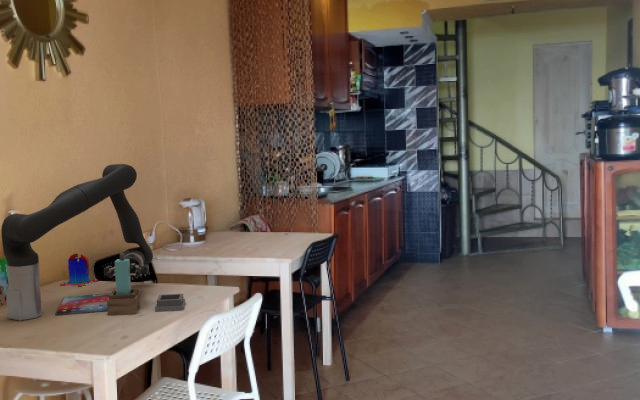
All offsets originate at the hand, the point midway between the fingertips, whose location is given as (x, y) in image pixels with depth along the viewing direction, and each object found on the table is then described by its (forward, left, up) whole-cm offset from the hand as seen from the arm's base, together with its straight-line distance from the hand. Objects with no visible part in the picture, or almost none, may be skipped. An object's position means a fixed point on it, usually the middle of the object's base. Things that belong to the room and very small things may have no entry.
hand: (123, 274), depth 211 cm
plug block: (-1, 0, -7) cm, 7 cm away
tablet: (0, +18, -13) cm, 22 cm away
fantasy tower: (+20, +46, -12) cm, 51 cm away
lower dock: (+9, -11, -12) cm, 19 cm away
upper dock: (-1, 0, -12) cm, 12 cm away
